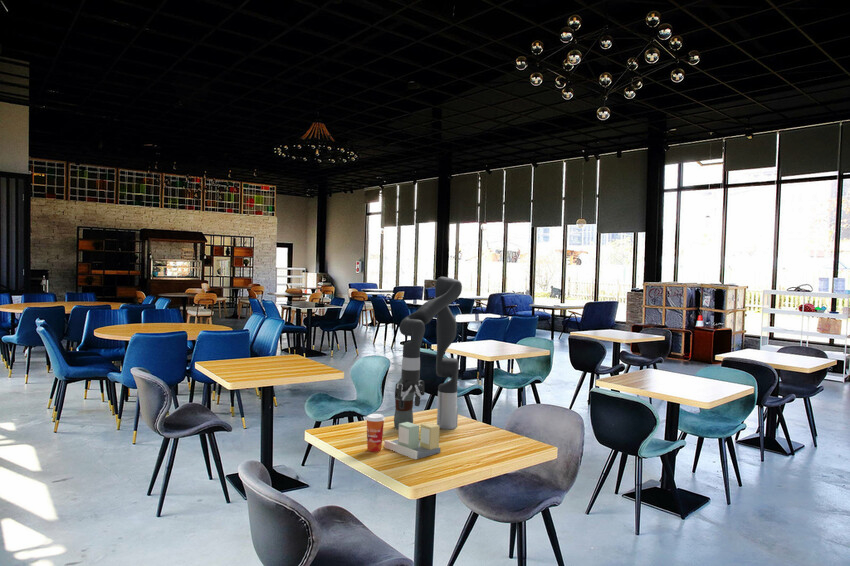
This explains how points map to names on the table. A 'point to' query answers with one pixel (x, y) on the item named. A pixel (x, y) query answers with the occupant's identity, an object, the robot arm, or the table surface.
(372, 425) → the paper cup
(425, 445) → the mustard box
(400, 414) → the bottle
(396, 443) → the display board
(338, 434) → the table surface
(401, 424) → the tea box
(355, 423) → the table surface
